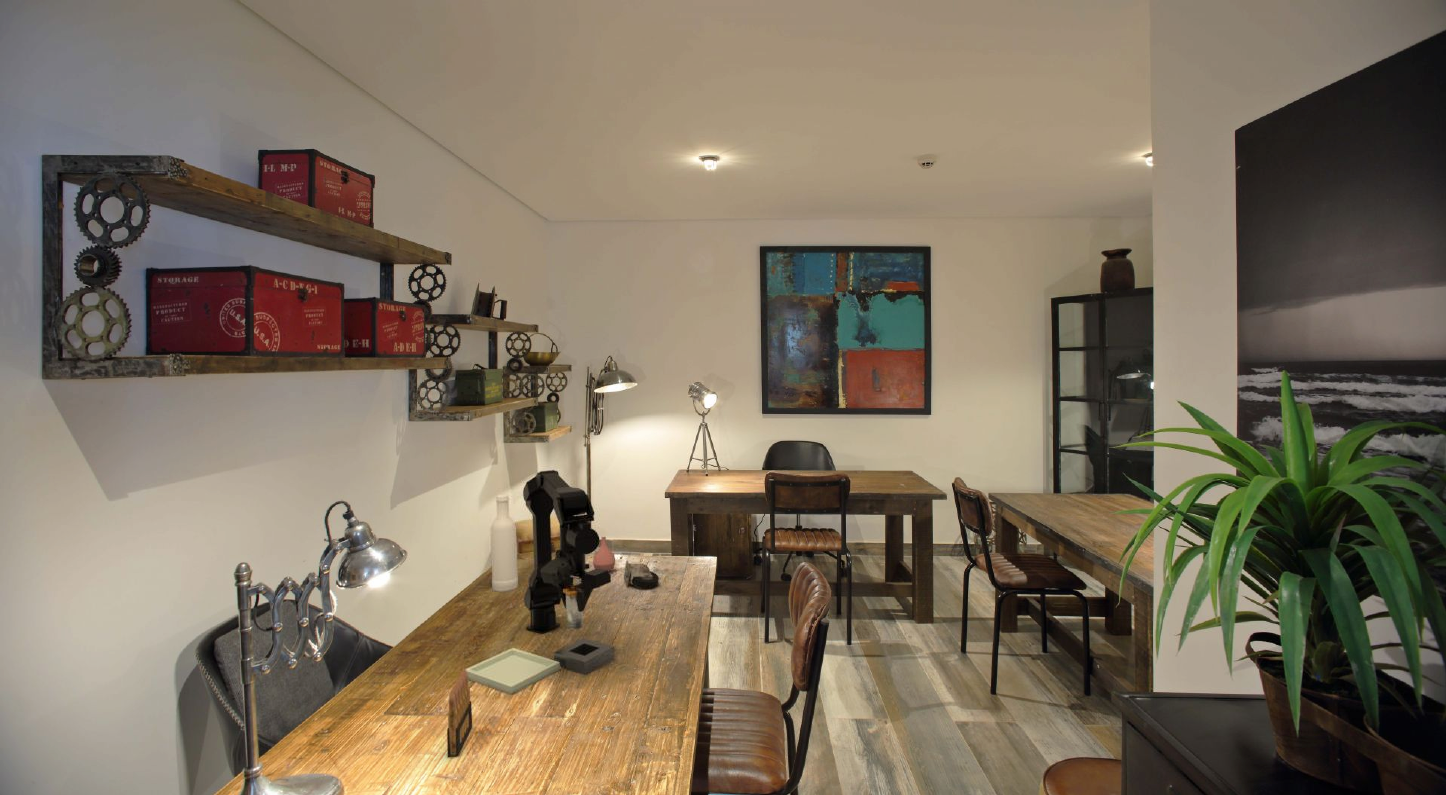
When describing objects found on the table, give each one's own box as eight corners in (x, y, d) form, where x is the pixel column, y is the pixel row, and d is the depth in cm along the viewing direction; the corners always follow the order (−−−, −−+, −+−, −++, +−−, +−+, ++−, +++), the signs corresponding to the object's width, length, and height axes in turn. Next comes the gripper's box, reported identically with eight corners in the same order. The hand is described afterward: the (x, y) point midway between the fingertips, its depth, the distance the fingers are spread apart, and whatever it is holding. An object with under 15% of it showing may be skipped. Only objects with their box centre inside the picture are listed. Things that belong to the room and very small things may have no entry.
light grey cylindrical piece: (559, 628, 158) (558, 588, 158) (574, 621, 162) (573, 582, 162) (575, 632, 155) (574, 591, 155) (590, 625, 160) (589, 585, 159)
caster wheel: (659, 596, 213) (628, 595, 210) (651, 578, 224) (621, 577, 220) (662, 576, 212) (631, 576, 208) (654, 560, 222) (625, 559, 219)
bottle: (487, 591, 213) (483, 497, 212) (502, 583, 221) (499, 492, 219) (508, 593, 211) (505, 498, 210) (523, 585, 218) (520, 493, 217)
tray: (464, 677, 153) (463, 670, 153) (513, 655, 164) (513, 647, 164) (511, 695, 144) (511, 687, 144) (559, 669, 156) (559, 662, 156)
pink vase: (610, 575, 227) (609, 540, 226) (589, 574, 228) (588, 539, 228) (618, 569, 234) (618, 535, 234) (598, 568, 236) (597, 534, 235)
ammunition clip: (462, 726, 132) (460, 666, 131) (472, 725, 132) (470, 665, 131) (447, 757, 121) (445, 692, 121) (458, 756, 121) (455, 691, 121)
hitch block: (554, 665, 158) (553, 652, 158) (584, 650, 167) (583, 638, 167) (585, 675, 153) (584, 662, 153) (614, 658, 161) (614, 646, 161)
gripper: (518, 547, 156) (520, 613, 157) (577, 558, 146) (579, 629, 147) (553, 536, 165) (555, 599, 166) (611, 546, 156) (613, 612, 156)
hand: (574, 609), depth 159 cm, fingers closed on light grey cylindrical piece, 4 cm apart
